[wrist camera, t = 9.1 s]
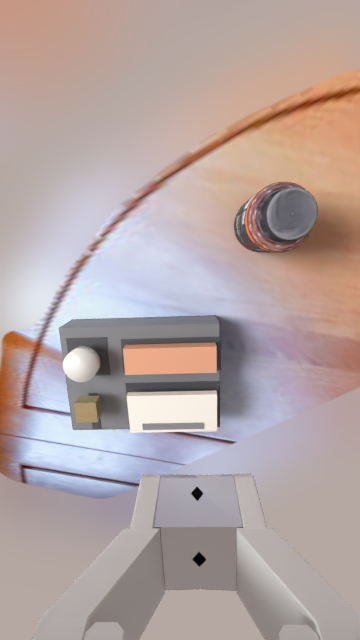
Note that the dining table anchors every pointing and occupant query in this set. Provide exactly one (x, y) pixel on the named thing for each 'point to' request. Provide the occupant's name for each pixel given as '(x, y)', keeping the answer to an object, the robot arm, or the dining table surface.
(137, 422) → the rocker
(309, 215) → the supplement bottle
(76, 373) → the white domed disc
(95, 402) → the slider knob
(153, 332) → the panel
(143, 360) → the terracotta button
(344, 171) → the dining table surface
